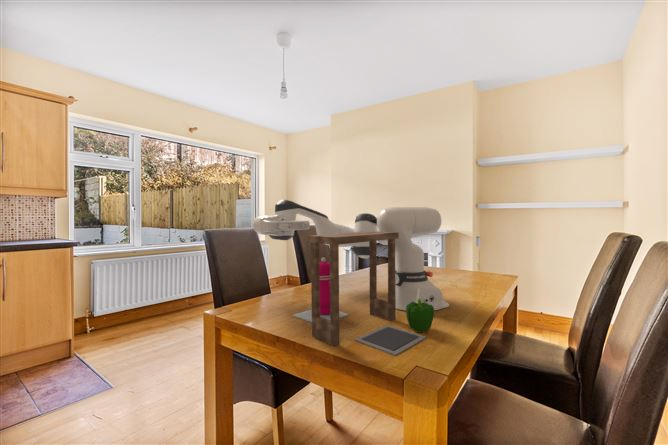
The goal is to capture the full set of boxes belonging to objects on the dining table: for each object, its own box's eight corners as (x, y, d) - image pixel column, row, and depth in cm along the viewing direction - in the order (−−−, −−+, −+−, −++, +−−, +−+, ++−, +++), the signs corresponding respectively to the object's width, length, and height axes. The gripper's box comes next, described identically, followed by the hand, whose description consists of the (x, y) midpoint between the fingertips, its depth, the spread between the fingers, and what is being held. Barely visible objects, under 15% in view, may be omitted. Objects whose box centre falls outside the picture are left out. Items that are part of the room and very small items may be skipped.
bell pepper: (413, 322, 101) (412, 293, 101) (437, 328, 96) (437, 297, 96) (401, 330, 95) (401, 298, 95) (426, 337, 90) (426, 303, 89)
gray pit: (354, 340, 88) (354, 338, 88) (386, 325, 99) (386, 324, 99) (395, 355, 78) (395, 354, 78) (426, 337, 89) (426, 336, 89)
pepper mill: (333, 315, 107) (330, 258, 108) (313, 314, 109) (310, 258, 109) (337, 309, 114) (335, 256, 115) (319, 309, 116) (316, 256, 116)
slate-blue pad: (293, 315, 110) (293, 314, 110) (322, 307, 119) (322, 306, 119) (319, 325, 100) (319, 324, 100) (348, 315, 109) (348, 314, 109)
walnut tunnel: (308, 335, 91) (307, 235, 90) (371, 312, 112) (370, 231, 112) (336, 347, 83) (336, 237, 82) (398, 320, 104) (398, 232, 103)
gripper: (298, 231, 135) (319, 233, 125) (257, 234, 120) (277, 235, 110) (297, 217, 134) (318, 217, 125) (256, 218, 120) (276, 218, 110)
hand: (298, 226), depth 117 cm, fingers open, 8 cm apart
